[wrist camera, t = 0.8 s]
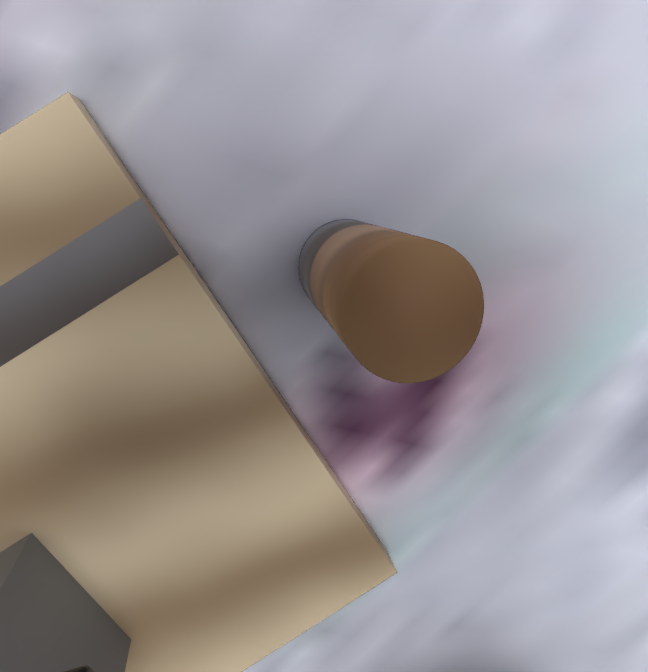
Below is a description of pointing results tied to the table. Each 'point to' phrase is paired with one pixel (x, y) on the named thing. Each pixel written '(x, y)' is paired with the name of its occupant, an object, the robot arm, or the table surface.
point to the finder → (52, 617)
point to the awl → (393, 298)
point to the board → (153, 424)
